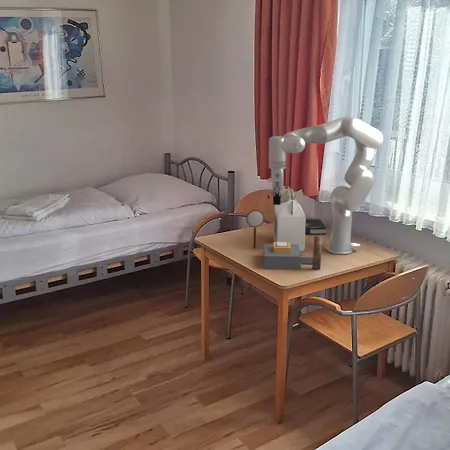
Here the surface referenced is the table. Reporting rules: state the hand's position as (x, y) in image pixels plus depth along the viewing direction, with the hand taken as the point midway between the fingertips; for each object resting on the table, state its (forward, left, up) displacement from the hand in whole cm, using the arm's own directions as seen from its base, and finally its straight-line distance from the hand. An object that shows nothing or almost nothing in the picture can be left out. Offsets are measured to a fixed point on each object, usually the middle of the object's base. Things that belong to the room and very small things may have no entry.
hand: (276, 201), depth 247 cm
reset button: (-3, +7, -24) cm, 25 cm away
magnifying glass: (+9, -10, -27) cm, 30 cm away
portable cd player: (-20, -42, -28) cm, 54 cm away
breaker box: (-3, +7, -27) cm, 28 cm away
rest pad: (-16, +5, -27) cm, 31 cm away
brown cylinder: (-18, +14, -27) cm, 35 cm away
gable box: (-8, -19, -27) cm, 34 cm away
